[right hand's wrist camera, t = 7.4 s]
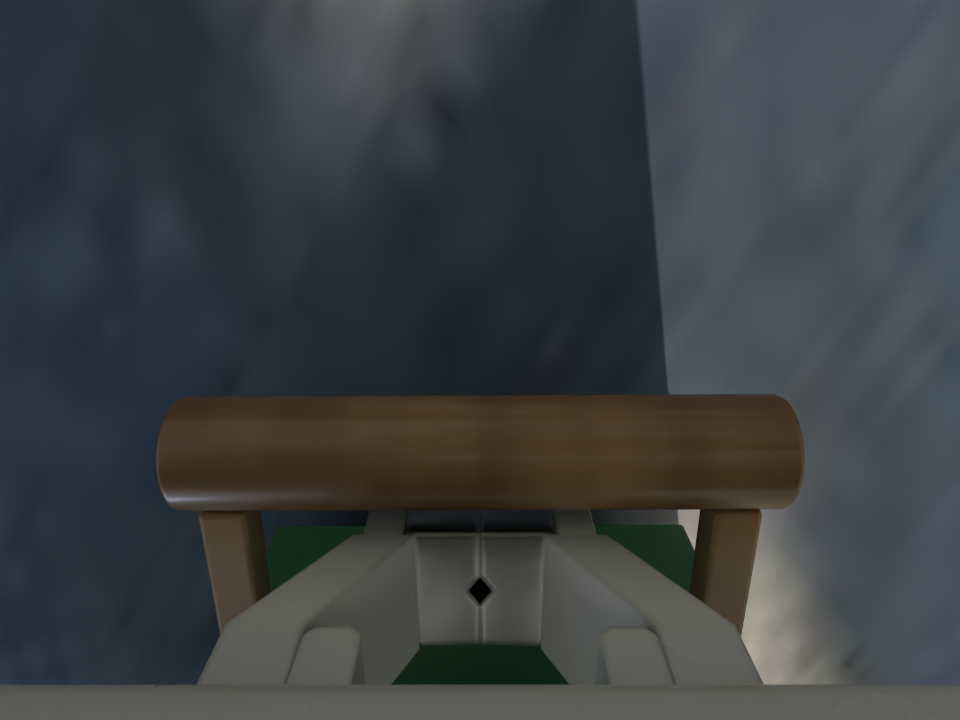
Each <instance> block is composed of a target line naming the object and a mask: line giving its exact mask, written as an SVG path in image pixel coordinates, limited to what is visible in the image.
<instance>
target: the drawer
mask: <svg viewBox="0 0 960 720" xmlns="http://www.w3.org/2000/svg"><path fill="white" fill-rule="evenodd" d="M156 473H157V480H158V485H159V489H160V491H161V494H162V496H163V498H164V500H165V502H166V503H167V504H168V505H169V506H170V507H172V508H174V509H176V510H179V511H201V512H200V515H199V522H200V527H201V533H202V538H203V544H204V550H205V555H206V561H207V566H208V572H209V577H210V583H211V588H212V594H213V599H214V605H215V610H216V616H217V621H218V627H219V632H220V635H221V633H222V631H223V629H224V627H225V625H226V623H228V622H229V621H231V620H232V619H234V618H235V617H236V616H238V615H239V614H241V613H242V612H244V611H245V610H246V609H248V608H249V607H251V606H252V605H254V604H255V603H256V602H258V601H259V600H261V599H262V598H264V597H265V596H266V595H268V594H269V593H271V592H272V591H274V590H275V589H277V588H278V587H279V586H281V585H282V584H284V583H285V582H287V581H288V580H289V579H291V578H292V577H294V576H295V575H297V574H298V573H299V572H301V571H302V570H304V569H305V568H307V567H308V566H310V565H311V564H312V563H314V562H315V561H317V560H318V559H320V558H321V557H322V556H324V555H325V554H327V553H328V552H330V551H331V550H332V549H334V548H335V547H337V546H338V545H340V544H341V543H342V542H344V541H345V540H347V539H348V538H350V537H351V536H353V535H362V534H364V530H365V526H280V527H278V529H277V531H276V533H275V536H274V538H273V540H272V542H271V544H270V546H269V548H268V551H267V553H266V549H265V542H264V534H263V527H262V520H261V513H260V511H319V510H645V509H700V516H699V524H698V531H697V539H696V546H695V551H694V549H693V546H692V544H691V542H690V540H689V538H688V536H687V534H686V532H685V530H684V527H683V526H682V525H594V527H595V530H596V534H598V535H608V536H609V537H610V538H612V539H613V540H615V541H616V542H618V543H619V544H620V545H622V546H623V547H625V548H626V549H627V550H629V551H630V552H632V553H633V554H635V555H636V556H637V557H639V558H640V559H642V560H643V561H645V562H646V563H647V564H649V565H650V566H652V567H653V568H655V569H656V570H657V571H659V572H660V573H662V574H663V575H665V576H666V577H667V578H669V579H670V580H672V581H673V582H675V583H676V584H677V585H679V586H680V587H682V588H683V589H685V590H686V591H687V592H689V593H690V594H692V595H693V596H695V597H696V598H697V599H699V600H700V601H702V602H703V603H705V604H706V605H707V606H709V607H710V608H712V609H713V610H715V611H716V612H717V613H719V614H720V615H722V616H723V617H725V618H726V619H727V620H729V621H730V622H732V623H733V624H735V626H736V628H737V630H738V632H739V634H740V636H741V633H742V627H743V621H744V616H745V610H746V604H747V598H748V593H749V587H750V581H751V575H752V570H753V564H754V558H755V552H756V547H757V541H758V535H759V529H760V524H761V518H762V514H761V511H760V510H759V509H782V508H785V507H787V506H789V505H790V504H792V503H793V502H794V500H795V499H796V497H797V495H798V493H799V490H800V487H801V484H802V479H803V473H804V446H803V439H802V433H801V429H800V425H799V422H798V419H797V417H796V414H795V412H794V410H793V409H792V407H791V406H790V404H789V403H788V402H787V401H786V400H785V399H784V398H782V397H779V396H777V395H774V394H694V395H381V396H186V397H183V398H180V399H178V400H176V401H175V402H174V403H173V404H172V405H171V406H170V407H169V409H168V410H167V412H166V414H165V416H164V419H163V421H162V424H161V427H160V431H159V435H158V441H157V448H156ZM391 685H569V684H568V682H567V681H566V680H565V679H564V677H563V676H562V675H561V674H560V672H559V671H558V670H557V669H556V667H555V666H554V665H553V664H552V662H551V661H550V660H549V659H548V657H547V656H546V655H545V653H544V652H543V651H542V650H541V646H524V645H487V644H471V645H435V646H419V650H418V652H417V653H416V654H415V655H414V657H413V658H412V659H411V660H410V662H409V663H408V664H407V665H406V667H405V668H404V669H403V670H402V672H401V673H400V674H399V675H398V677H397V678H396V679H395V680H394V682H393V683H392V684H391Z"/></svg>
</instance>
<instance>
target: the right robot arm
mask: <svg viewBox="0 0 960 720" xmlns="http://www.w3.org/2000/svg"><path fill="white" fill-rule="evenodd" d="M471 644H487V645H524V646H541V650H542V651H543V652H544V653H545V655H546V656H547V657H548V659H549V660H550V661H551V662H552V664H553V665H554V666H555V667H556V669H557V670H558V671H559V672H560V674H561V675H562V676H563V677H564V679H565V680H566V681H567V682H568V684H569V685H391V684H392V683H393V682H394V680H395V679H396V678H397V677H398V675H399V674H400V673H401V672H402V670H403V669H404V668H405V667H406V665H407V664H408V663H409V662H410V660H411V659H412V658H413V657H414V655H415V654H416V653H417V652H418V650H419V646H435V645H471ZM0 720H960V685H764V684H763V682H762V680H761V678H760V676H759V674H758V672H757V670H756V667H755V665H754V663H753V661H752V659H751V657H750V655H749V653H748V651H747V649H746V647H745V645H744V643H743V641H742V638H741V636H740V634H739V632H738V630H737V628H736V626H735V624H733V623H732V622H730V621H729V620H727V619H726V618H725V617H723V616H722V615H720V614H719V613H717V612H716V611H715V610H713V609H712V608H710V607H709V606H707V605H706V604H705V603H703V602H702V601H700V600H699V599H697V598H696V597H695V596H693V595H692V594H690V593H689V592H687V591H686V590H685V589H683V588H682V587H680V586H679V585H677V584H676V583H675V582H673V581H672V580H670V579H669V578H667V577H666V576H665V575H663V574H662V573H660V572H659V571H657V570H656V569H655V568H653V567H652V566H650V565H649V564H647V563H646V562H645V561H643V560H642V559H640V558H639V557H637V556H636V555H635V554H633V553H632V552H630V551H629V550H627V549H626V548H625V547H623V546H622V545H620V544H619V543H618V542H616V541H615V540H613V539H612V538H610V537H609V536H608V535H598V534H596V530H595V527H594V523H593V519H592V516H591V512H590V510H370V512H369V515H368V519H367V523H366V526H365V530H364V534H362V535H353V536H351V537H350V538H348V539H347V540H345V541H344V542H342V543H341V544H340V545H338V546H337V547H335V548H334V549H332V550H331V551H330V552H328V553H327V554H325V555H324V556H322V557H321V558H320V559H318V560H317V561H315V562H314V563H312V564H311V565H310V566H308V567H307V568H305V569H304V570H302V571H301V572H299V573H298V574H297V575H295V576H294V577H292V578H291V579H289V580H288V581H287V582H285V583H284V584H282V585H281V586H279V587H278V588H277V589H275V590H274V591H272V592H271V593H269V594H268V595H266V596H265V597H264V598H262V599H261V600H259V601H258V602H256V603H255V604H254V605H252V606H251V607H249V608H248V609H246V610H245V611H244V612H242V613H241V614H239V615H238V616H236V617H235V618H234V619H232V620H231V621H229V622H228V623H226V625H225V627H224V629H223V631H222V633H221V635H220V637H219V639H218V641H217V643H216V645H215V647H214V649H213V651H212V653H211V655H210V657H209V660H208V662H207V664H206V666H205V668H204V670H203V672H202V674H201V676H200V678H199V680H198V682H197V684H196V685H0Z"/></svg>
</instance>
